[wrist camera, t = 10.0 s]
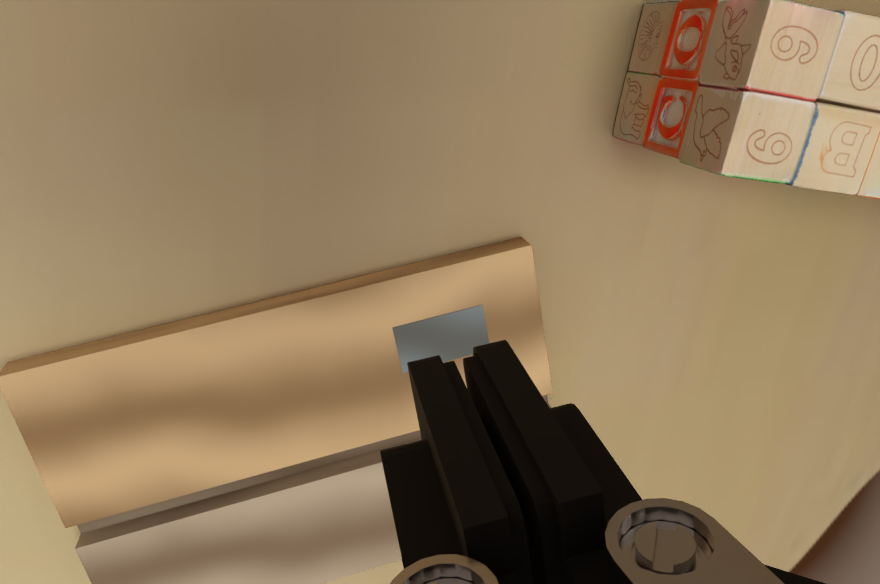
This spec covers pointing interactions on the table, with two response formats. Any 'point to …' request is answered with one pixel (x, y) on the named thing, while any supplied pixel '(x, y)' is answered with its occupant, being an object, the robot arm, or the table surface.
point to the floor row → (256, 527)
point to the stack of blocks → (758, 92)
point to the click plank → (263, 380)
